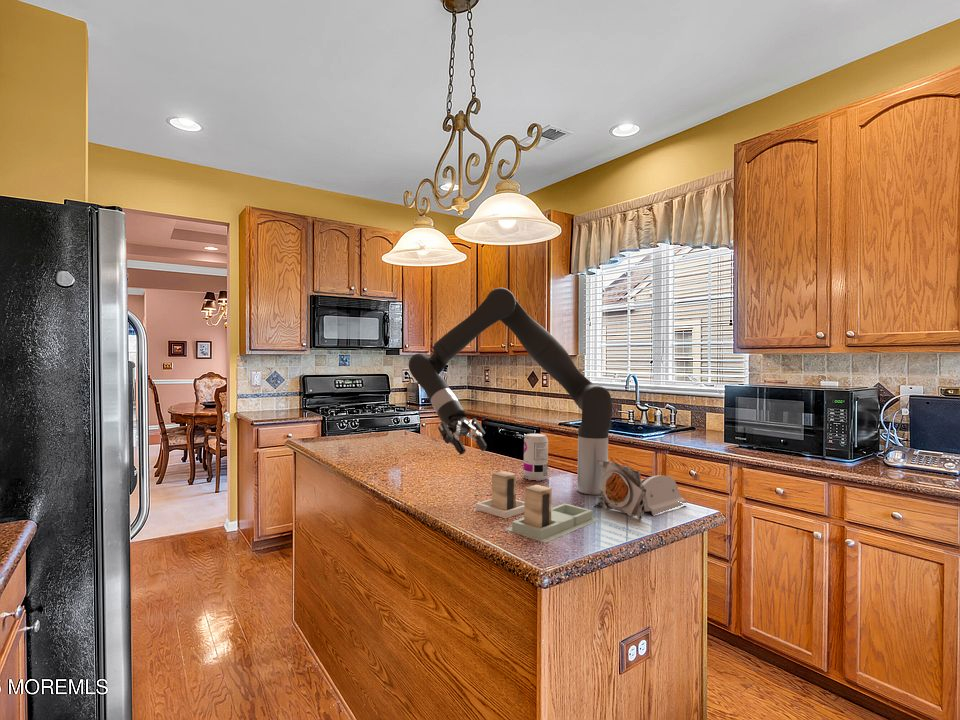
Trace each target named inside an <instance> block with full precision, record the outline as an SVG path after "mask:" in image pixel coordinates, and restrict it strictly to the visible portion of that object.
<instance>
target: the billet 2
mask: <svg viewBox="0 0 960 720" xmlns="http://www.w3.org/2000/svg"><path fill="white" fill-rule="evenodd" d="M552 491H553V489H552V487H549V486H543V485H539V484H534V485H530V486H527V487H524V501H523V502H524V513H523V518H524V524H527V525H530V526H534V527H537V528H543V527H546V526H548V525H551V508H552V495H553V494H552V493H553V492H552Z"/></svg>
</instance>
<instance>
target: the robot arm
mask: <svg viewBox="0 0 960 720" xmlns="http://www.w3.org/2000/svg"><path fill="white" fill-rule="evenodd" d="M499 321H500V322H501V323H503V324H504V326H506V327H507V328H508V329H509V330H510V331H512V333H513V334H514V336H515V337H516V338H517V340H518V341H519V343H520V345H521V346H522V347H523V348H524V349H525V351H526V352H527V353H528V355H529V356H530V357H531V358H532V359H533V360H534V361H535V363H536V364H537V365H538V366H540V367H541V368H542V369H543V370H544V371H545V372H546V373H547V374H548V375H549V376H550V377H551V378H553V380H555V381H556V382H557V383H559V385H561V387H562V388H563V389H564V390H565V391H566V393H567V394H568V395H569V397H570V398H572V400H573V401H574V403H575V404H576V405H577V406H578V408H579V409H580V410H581V422H580V425H579V427H578V430H577V435H578V437H577V478H576V479H577V484H576V485H577V486H576V487H577V488H576V489H577V490H576V491H577V492H579V493H582V494H585V495H594V496H596V495H599V496H601V494H600V491H601V490H600V489H599V486H600V483H601V481H602V477H603V476H604V472H603V470H602V469H601V466H600V465H599V464H598V462H597V460H598V461H599V460H600V461H606V462H611V461H610V460H609V432H610V429H611V427H612V426H611V425H612V408H613V407H612V406H613V405H612V401H613V400H612V396H611V393H610V392H609V390H607V389H606V388H605V387H603V386H600V385H596V384H594V383H593V382H592V381H590V380H589V379H588V378H587V377H586V376H585V375H584V374H583V373H581V371H580V370H579V369H578V368H577V366H576V365H575V363H574V361H573V360H572V358H571V356H570V355H569V353H568V352H567V350H566V348H565V347H564V346H563V345H562V344H561V343H560V342H559V341H558V340H557V339H556V338H555V337H554V336H553V334H551V333H550V332H549V331H548V330H546V329H545V327H543V326H542V325H541V324H539V323H538V322H537V321H536V319H533V318H532V316H530V315H529V314H528V312H527V311H525V309H524V308H523V307H522V306H521V304H520V303H519V302H518V300H517V299H516V297H515V295H514V293H512V292H511V290H510V289H508V288H505V287H497V288H494V289H492V290H490V292H489V293H488V294H487V296H486V298H485V299H484V300H483V301H482V302H481V303H480V305H479V306H478V307H477V308H476V309H475V310H474V311H473V312H472V313H471V314H470V315H469V316H468V317H466V318H465V319H464V320H463V321H461V322H459V323H458V324H457V325H455V326H454V327H452V328H451V329H450V330H449V331H448V332H446V333H445V334H444V335H443V336H441V338H439V340H438V339H437V341H436V342H434V344H433V346H432V350H433V353H432V354H431V356H427V355H425V354H423V353H416V354H414V355H412V356H411V357H410V359H409V361H408V371H409V372H410V374H411V376H412V377H413V379H415V381H416V382H417V383H418V384H419V386H420V387H421V388H422V390H424V392H425V394H426V396H427V397H428V400H429V401H430V403H431V405H432V408H433V410H434V411H435V413H436V415H437V417H438V418H439V420H440V421H441V422H440V424H439V426H438V427H437V430H438V431H439V434H440V435H441V437H442V439H443V441H444V443H445V444H451V445H453V446H454V449H455V450H456V452H457V453H458V454H459V455H460V456H461V455H464V454H465V452H466V450H467V449H466V447H465V446H464V444H463V442H462V441H461V439H460V437H464V436H465V437H467V438H470V439H472V440H474V441H475V443H476V445H477V446H478V448H479V450H480V451H481V452H484V451H486V449H487V448H488V445H487V443H486V441H485V439H484V438H483V436H484V435H485V434H486V431H485V430H484V428H483V427H482V425H481V424H480V422H479V421H478V420H477V418H475V417H473V418H472V419H471V420H469V419H468V418H467V415H466V413H467V412H466V410H465V409H464V407H463V406H462V404H461V403H460V401H459V399H458V397H457V396H456V394H455V393H454V392H453V391H452V390H451V388H450V387H449V384H448V383H447V382H446V380H445V379H444V378H443V377H442V376H441V375H440V374H441V373H442V371H443V370H444V368H445V367H447V364H448V363H449V362H450V360H452V359H453V358H454V357H455V356H457V355H458V354H459V353H460V352H461V351H463V350H464V348H466V347H467V346H468V345H469V344H470V343H472V341H474V340H475V339H476V338H477V337H478V336H479V335H480V334H481V333H483V332H484V331H485V330H486V329H489V328H490V327H491V326H492V325H495V323H497V322H499Z"/></svg>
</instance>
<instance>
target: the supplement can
mask: <svg viewBox="0 0 960 720" xmlns="http://www.w3.org/2000/svg"><path fill="white" fill-rule="evenodd" d="M548 463H549V439H548V437H547V435H546V434H544V433H536V432H535V433H527V434H525V436H524V439H523V473H522V474H523V477H524V478H525V480H527V479H528V480H527V481H531V480H536V481H535V482H541V480H542V481H545V480H546V479H548V476H549V475H548V474H549V473H548V471H549V464H548Z"/></svg>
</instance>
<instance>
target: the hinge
mask: <svg viewBox="0 0 960 720" xmlns="http://www.w3.org/2000/svg"><path fill="white" fill-rule="evenodd" d="M641 482H642V484H643V485H644V487H645V488H646V494H645V498H644V502H645V503H644V505H643V506H642V511H643V510H644V513H646V512H650V513H651V515H655V514H658V513H660V512H663V511H666V510H669V509H672V508H675V507H678V506H681V505H683V504H682V503H686V504H687V502H686V501H687V500H686V499H685V498H683V497H682V495H681V493H680V491H679V488H678V486H677V482H676V479H675V478H674V477H672V476H670V475H669V476H668V475H661V474H660V475H653V476H652V475H651V476H648V477H646V478H643V479H642V480H641ZM641 490H643V489H642V488H641ZM644 493H645V492H643V493H642V495H644ZM678 501H679V502H678ZM680 502H682V503H680ZM642 504H643V500H641V502H640V505H642Z"/></svg>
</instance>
